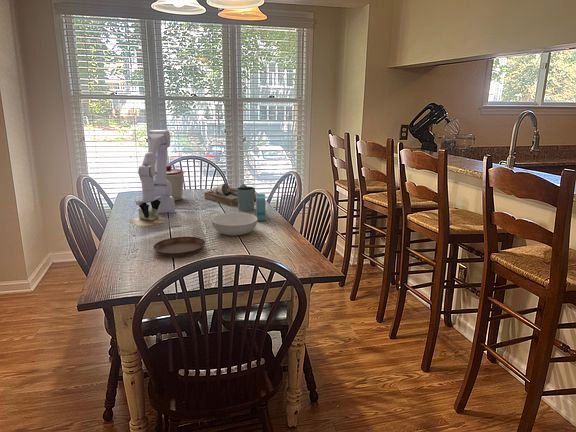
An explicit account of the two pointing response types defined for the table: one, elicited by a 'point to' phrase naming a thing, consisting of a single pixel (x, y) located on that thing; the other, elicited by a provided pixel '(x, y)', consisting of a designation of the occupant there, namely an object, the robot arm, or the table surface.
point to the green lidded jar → (246, 198)
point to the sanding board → (146, 221)
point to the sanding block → (152, 214)
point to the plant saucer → (179, 246)
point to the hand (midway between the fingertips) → (150, 216)
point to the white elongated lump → (224, 190)
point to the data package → (260, 207)
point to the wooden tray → (223, 198)
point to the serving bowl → (234, 223)
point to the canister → (174, 181)
